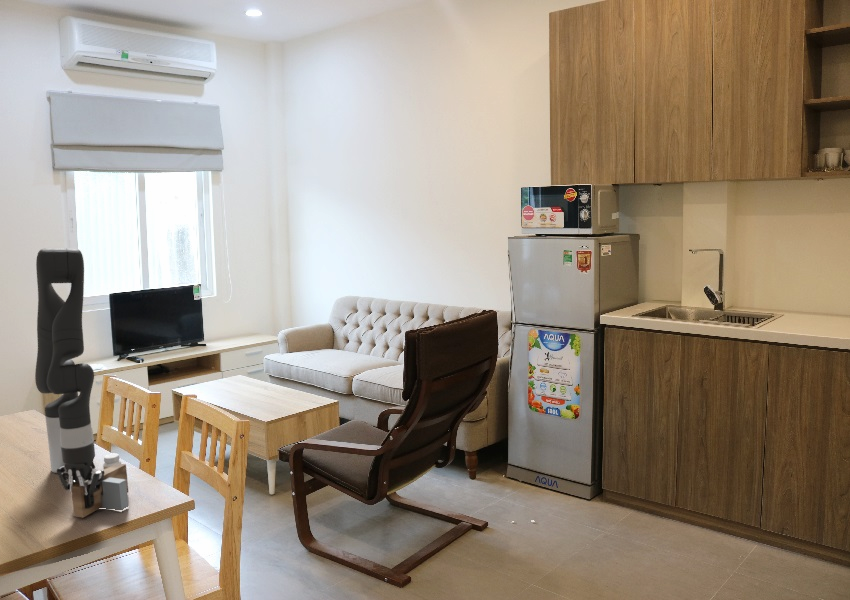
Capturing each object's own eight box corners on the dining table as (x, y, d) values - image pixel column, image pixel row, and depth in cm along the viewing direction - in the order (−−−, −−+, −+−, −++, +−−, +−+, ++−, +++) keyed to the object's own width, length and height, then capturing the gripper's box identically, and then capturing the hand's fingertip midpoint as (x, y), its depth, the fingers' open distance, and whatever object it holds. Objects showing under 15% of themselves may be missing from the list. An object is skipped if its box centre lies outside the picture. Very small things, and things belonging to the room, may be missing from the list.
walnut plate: (119, 490, 198) (117, 463, 197) (128, 492, 197) (125, 464, 196) (74, 516, 183) (70, 486, 182) (83, 517, 182) (80, 487, 181)
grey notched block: (76, 505, 192) (73, 476, 190) (83, 501, 194) (81, 473, 193) (121, 512, 187) (119, 483, 185) (128, 508, 189) (126, 479, 188)
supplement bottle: (118, 479, 209) (115, 451, 208) (126, 482, 206) (123, 454, 205) (101, 484, 205) (99, 456, 204) (110, 488, 202) (107, 459, 201)
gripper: (110, 439, 183) (116, 503, 185) (67, 434, 187) (74, 497, 190) (87, 449, 176) (94, 516, 178) (43, 444, 180) (50, 509, 183)
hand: (83, 506), depth 184 cm, fingers closed on walnut plate, 3 cm apart
